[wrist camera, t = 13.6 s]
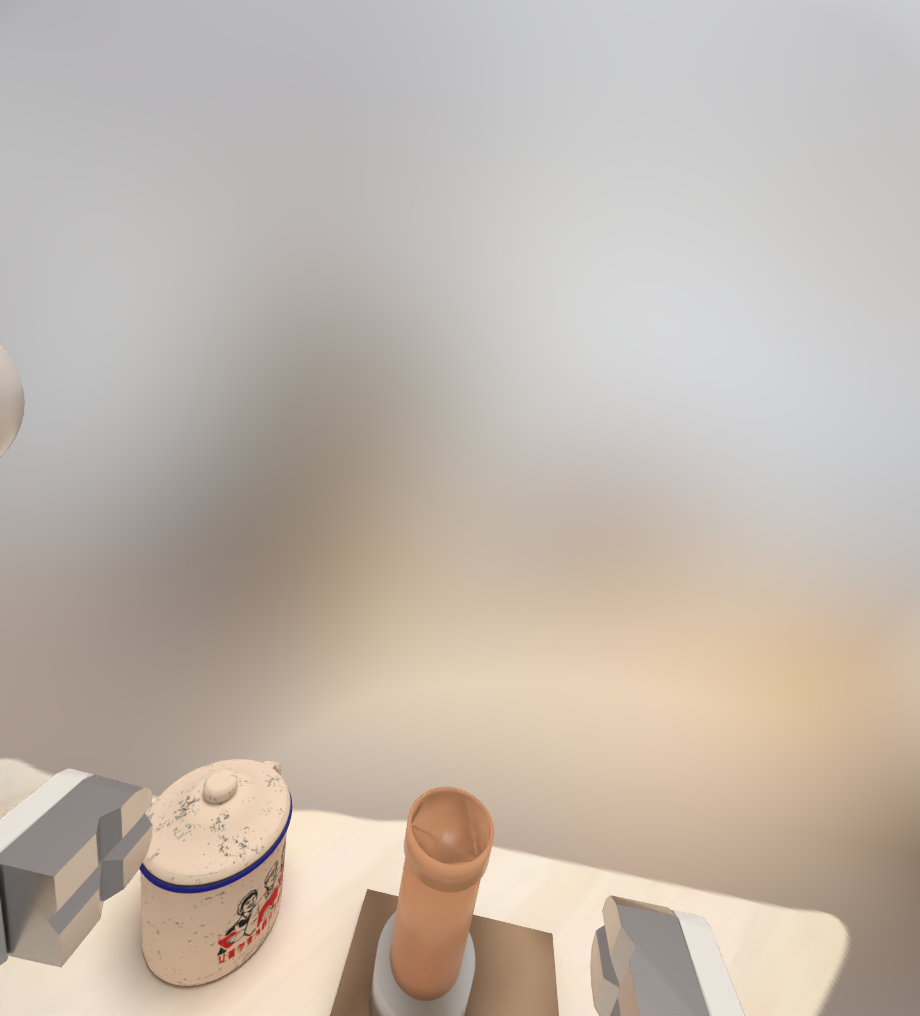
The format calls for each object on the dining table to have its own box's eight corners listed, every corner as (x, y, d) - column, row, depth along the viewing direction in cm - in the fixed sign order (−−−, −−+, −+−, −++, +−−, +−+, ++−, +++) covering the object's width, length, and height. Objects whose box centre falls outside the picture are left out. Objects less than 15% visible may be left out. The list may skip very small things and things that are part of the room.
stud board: (300, 1125, 24) (308, 1060, 22) (365, 900, 34) (373, 847, 33) (567, 1200, 23) (590, 1136, 22) (548, 945, 33) (564, 893, 32)
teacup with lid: (236, 1014, 27) (244, 867, 24) (100, 971, 28) (93, 825, 25) (321, 832, 39) (334, 718, 36) (223, 806, 40) (228, 692, 37)
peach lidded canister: (376, 993, 25) (398, 856, 23) (396, 901, 30) (417, 779, 27) (460, 1015, 25) (492, 878, 22) (468, 919, 30) (495, 796, 27)
